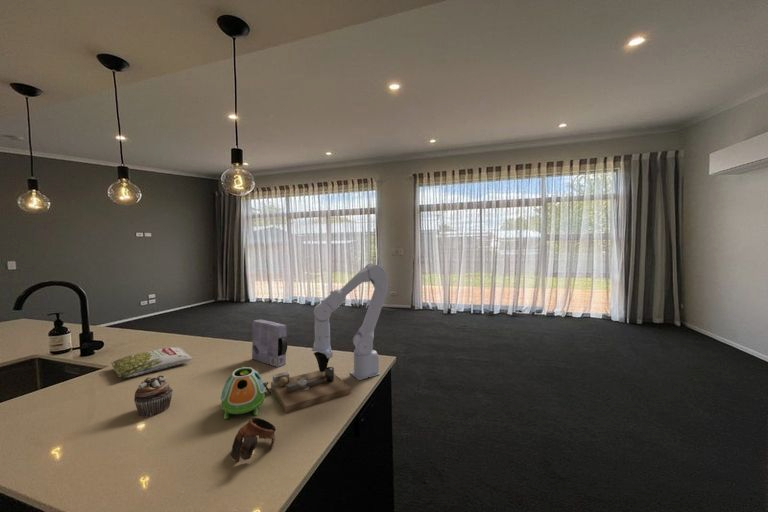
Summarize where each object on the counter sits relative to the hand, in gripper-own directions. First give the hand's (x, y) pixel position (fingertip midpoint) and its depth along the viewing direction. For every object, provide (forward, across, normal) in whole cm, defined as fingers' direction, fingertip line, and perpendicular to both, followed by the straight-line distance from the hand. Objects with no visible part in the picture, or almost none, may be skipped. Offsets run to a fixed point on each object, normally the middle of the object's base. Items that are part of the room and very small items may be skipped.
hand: (322, 371), depth 114 cm
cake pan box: (+4, -31, -13) cm, 33 cm away
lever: (+1, +6, -7) cm, 9 cm away
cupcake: (+4, -10, -52) cm, 53 cm away
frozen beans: (+4, -54, -56) cm, 78 cm away
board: (+3, +5, -7) cm, 9 cm away
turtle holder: (+3, +4, -28) cm, 29 cm away
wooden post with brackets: (+4, 0, -23) cm, 24 cm away
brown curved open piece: (+4, +29, -30) cm, 41 cm away
